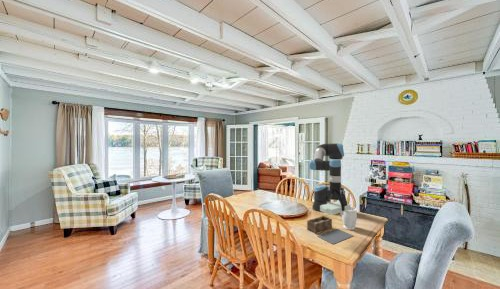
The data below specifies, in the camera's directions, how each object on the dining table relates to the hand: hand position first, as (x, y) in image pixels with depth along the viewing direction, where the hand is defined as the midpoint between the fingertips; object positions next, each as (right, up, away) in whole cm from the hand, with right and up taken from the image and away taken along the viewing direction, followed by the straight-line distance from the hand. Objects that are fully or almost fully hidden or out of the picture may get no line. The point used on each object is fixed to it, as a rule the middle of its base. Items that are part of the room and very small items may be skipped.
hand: (335, 212), depth 144 cm
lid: (0, +2, 0) cm, 2 cm away
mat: (0, -17, +1) cm, 17 cm away
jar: (+17, -16, +14) cm, 27 cm away
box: (-7, -17, +13) cm, 22 cm away
